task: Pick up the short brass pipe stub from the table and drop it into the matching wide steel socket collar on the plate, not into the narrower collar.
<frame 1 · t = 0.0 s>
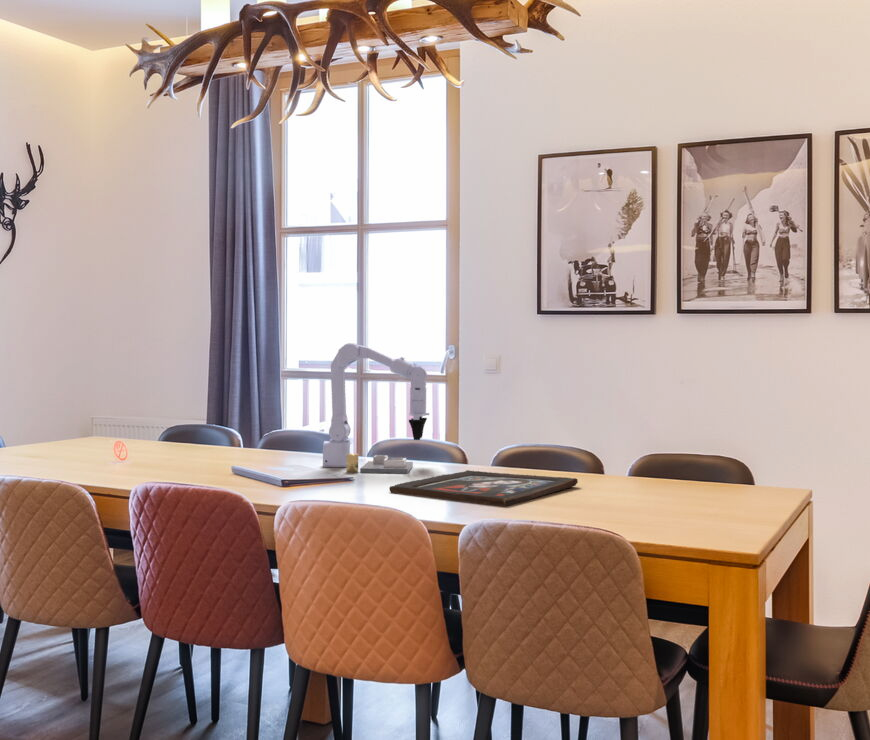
hand: (417, 438, 309), 10 cm above the table, fingers open, 7 cm apart
pipe stub: (352, 471, 296), on the table
socket plate: (387, 469, 303), on the table
religious icon: (486, 492, 259), on the table
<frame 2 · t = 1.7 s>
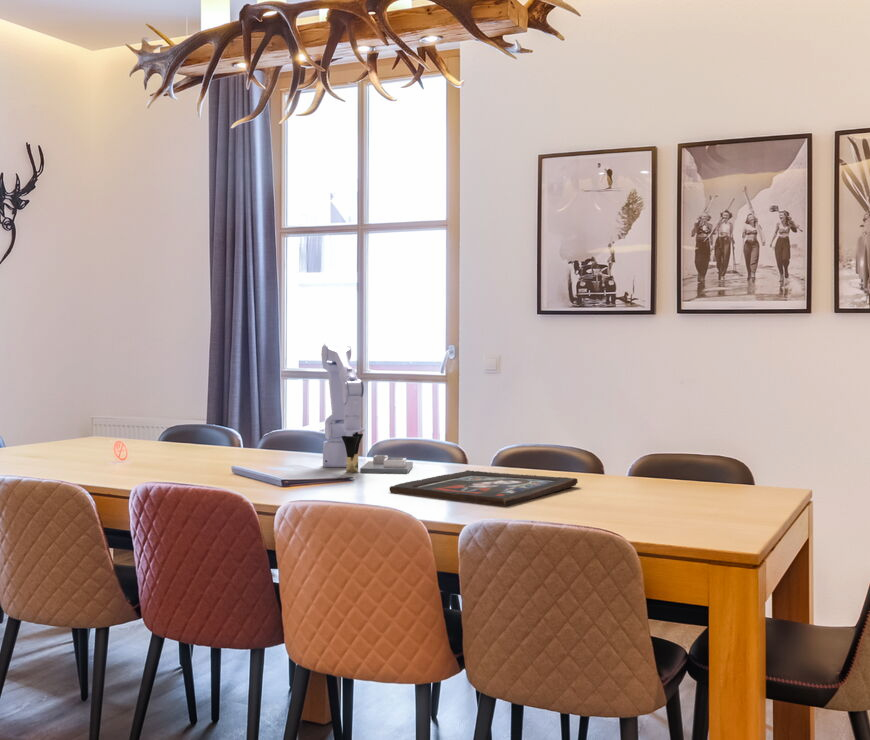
hand: (352, 455, 295), 5 cm above the table, fingers open, 7 cm apart
nothing on the table moved.
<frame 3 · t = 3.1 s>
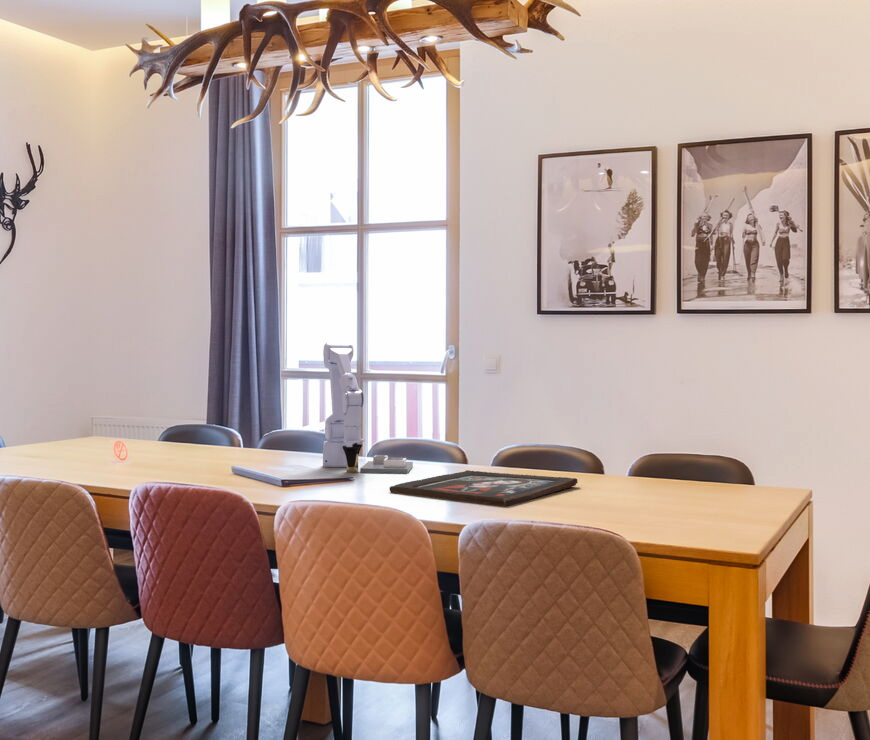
hand: (352, 466, 296), 2 cm above the table, fingers closed on pipe stub, 4 cm apart
pipe stub: (352, 471, 296), on the table, touching gripper
everything else where it was.
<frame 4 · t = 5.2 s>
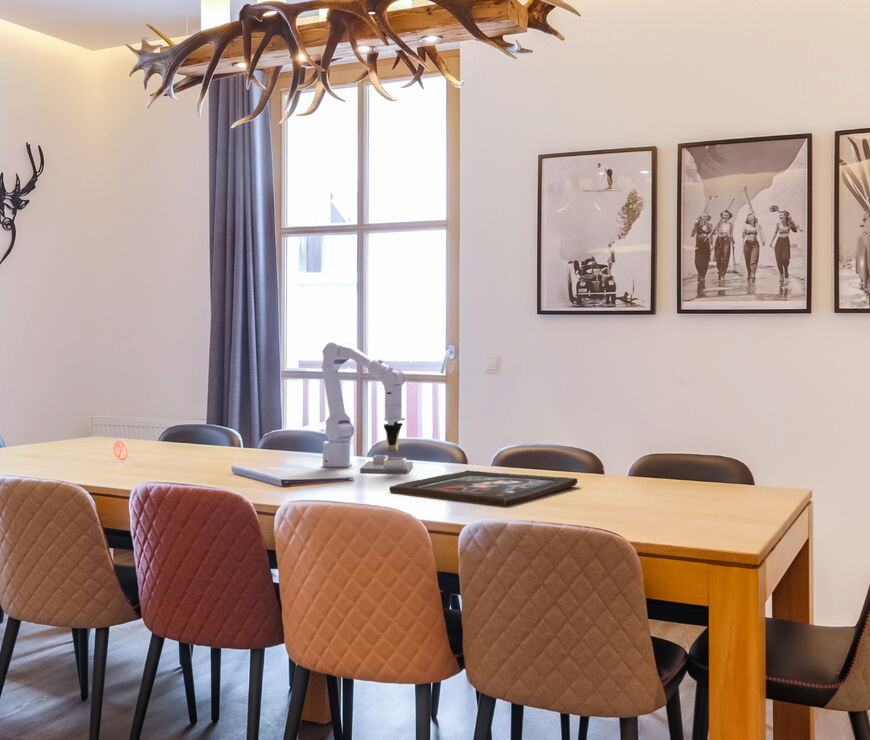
hand: (393, 444, 299), 9 cm above the table, fingers closed on pipe stub, 4 cm apart
pipe stub: (392, 450, 299), point 7 cm above the table, touching gripper
everything else where it was.
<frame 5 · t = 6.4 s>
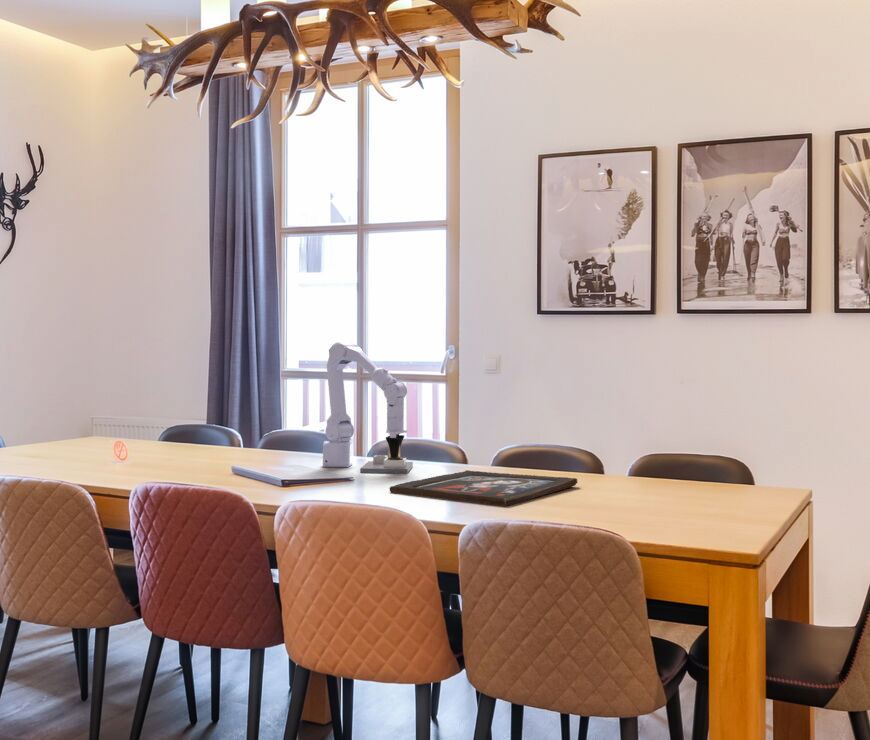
hand: (395, 457, 300), 5 cm above the table, fingers closed on pipe stub, 4 cm apart
pipe stub: (394, 462, 300), point 3 cm above the table, touching gripper
everything else where it was.
when the fingers open (5 cm above the table, at t = 7.2 s): pipe stub drops 1 cm, resting on socket plate.
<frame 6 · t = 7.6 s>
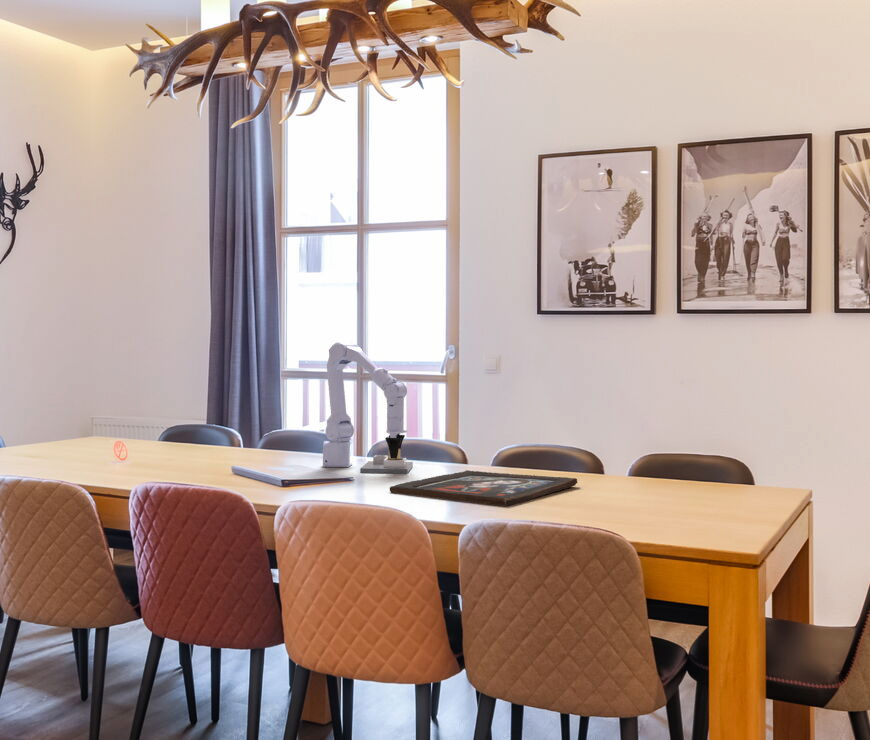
hand: (395, 456, 300), 5 cm above the table, fingers open, 7 cm apart
pipe stub: (394, 466, 300), point 2 cm above the table, touching socket plate
everything else where it was.
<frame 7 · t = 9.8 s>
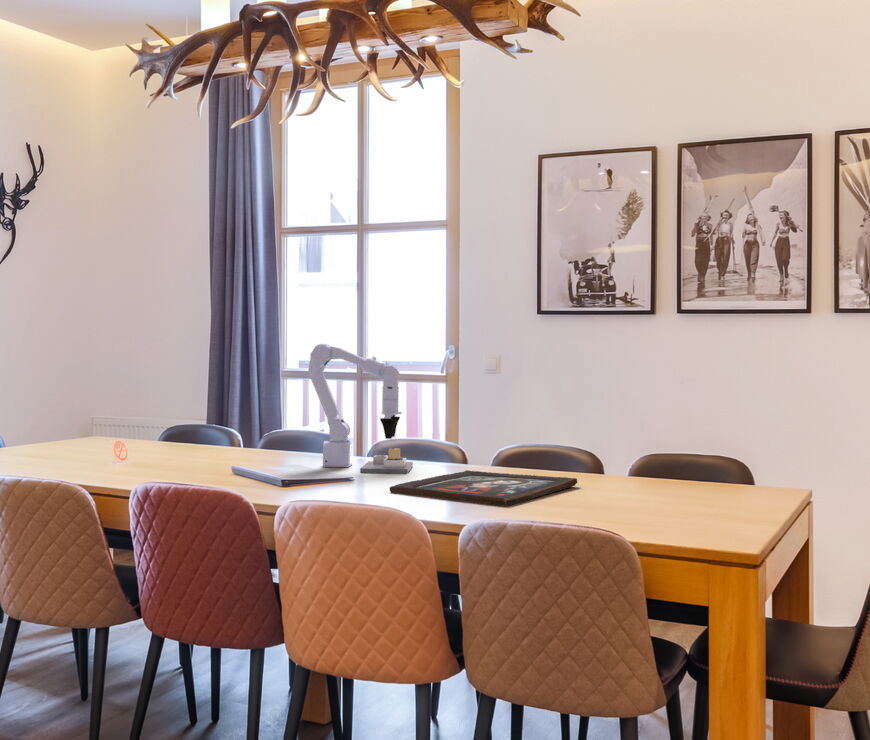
hand: (390, 437, 310), 10 cm above the table, fingers open, 7 cm apart
nothing on the table moved.
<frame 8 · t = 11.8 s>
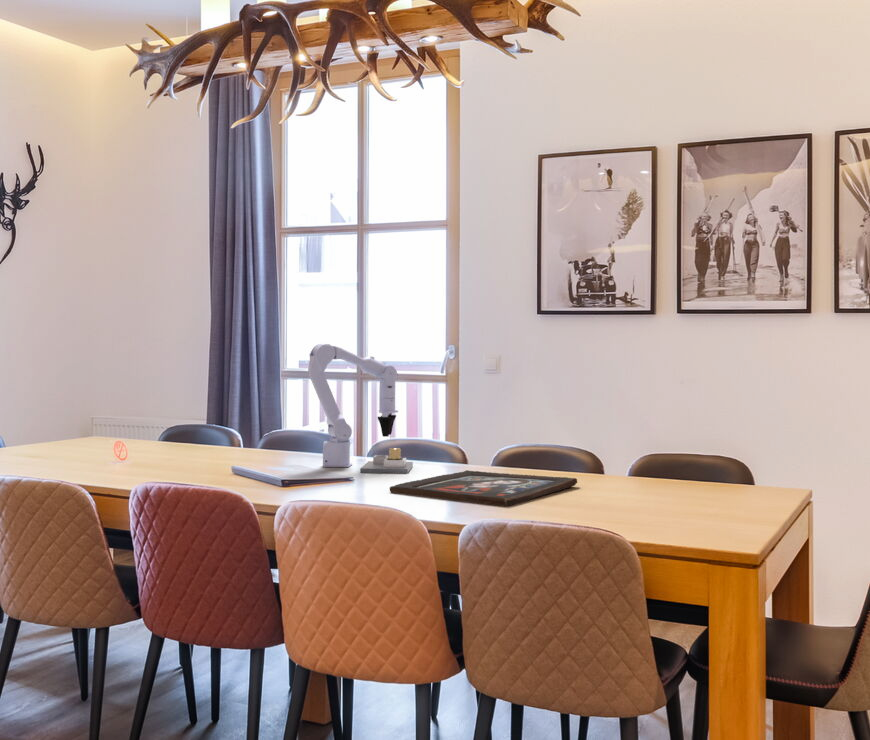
hand: (386, 435, 318), 10 cm above the table, fingers open, 7 cm apart
nothing on the table moved.
at the end: pipe stub 0.2 cm from the target spot on the socket plate, point 1.6 cm above the socket plate's base; pipe stub tilted 2°; the gripper is holding nothing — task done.
